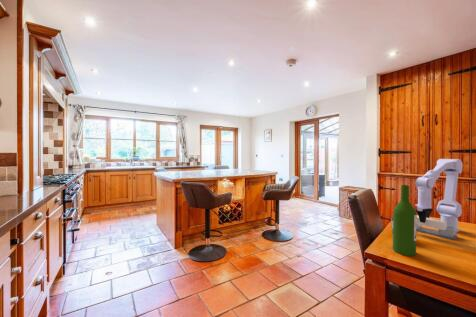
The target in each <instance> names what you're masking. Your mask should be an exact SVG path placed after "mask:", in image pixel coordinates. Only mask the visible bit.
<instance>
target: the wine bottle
mask: <svg viewBox="0 0 476 317" xmlns="http://www.w3.org/2000/svg"><path fill="white" fill-rule="evenodd" d="M400 186H401V187H400V188H401V190H400V191H401V192H400V201H398V203H396V204H397V205H395V207H394V208H393V212H392V213H393V214H392V218H393V235H392V250H393V251H394V252H395V253H396V254H400V255H402V256H406V257H414V256H416V255H417V232H418V231H417V216H418V214H417V212H416V208H414V206H413V205H412V203H411V202H410V185H407V184H401V185H400Z"/></svg>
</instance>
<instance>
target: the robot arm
mask: <svg viewBox="0 0 476 317" xmlns="http://www.w3.org/2000/svg"><path fill="white" fill-rule="evenodd" d="M462 172H463V161H462V160H461V159H459V158H439V159H438V160H436V165H435V167H434V168H433V169H430V170H428V171H427V172H426V173H425V174H424V175H422V176H419V177H417V178H416V181H415V186H416V189H417V203H416V204H415V206H416V208H415V210H416V213H417V216H419V220H420V222H423V223H425V222H426V218H431V217H430V216H431V214H432V212H433V211H434V209H433V208H432V207H433V206H432V189H433V188H434V186H435V183H436V181H437V180H438V179H439V178H440V176H441V173H445V174H446V178H445V185H444V194H443V195H444V196H443V199H441V200H439V201H438V203H437V206H436V211H437V213H438V214H439V215H440V220H441V221H446V222H447V226H452V227H457V232H456V233H455V234H457V233H458V232H460V231H461V229H459V219H458V218H459V217H461V216H462V213H463V211H462V210H463V209H462V204H460V203H459V202H458V201H457V200H456V197H457V189H458V188H457V187H458V181H459V180H458V179H459V174H462Z"/></svg>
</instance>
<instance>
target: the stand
mask: <svg viewBox="0 0 476 317" xmlns="http://www.w3.org/2000/svg"><path fill="white" fill-rule="evenodd" d="M417 232H418V233H419V232H420V233H423V234H426V235H431V236H435V237H439V238H443V239H447V240H451V241H455V240H456V239H458V234H457V233H458V232H457V227H452V226H447V229H446V230H440V229H434V228H432V229H431V228H429V227H425V226H424V227H423V225H418V224H417ZM456 232H457V233H456Z"/></svg>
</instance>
